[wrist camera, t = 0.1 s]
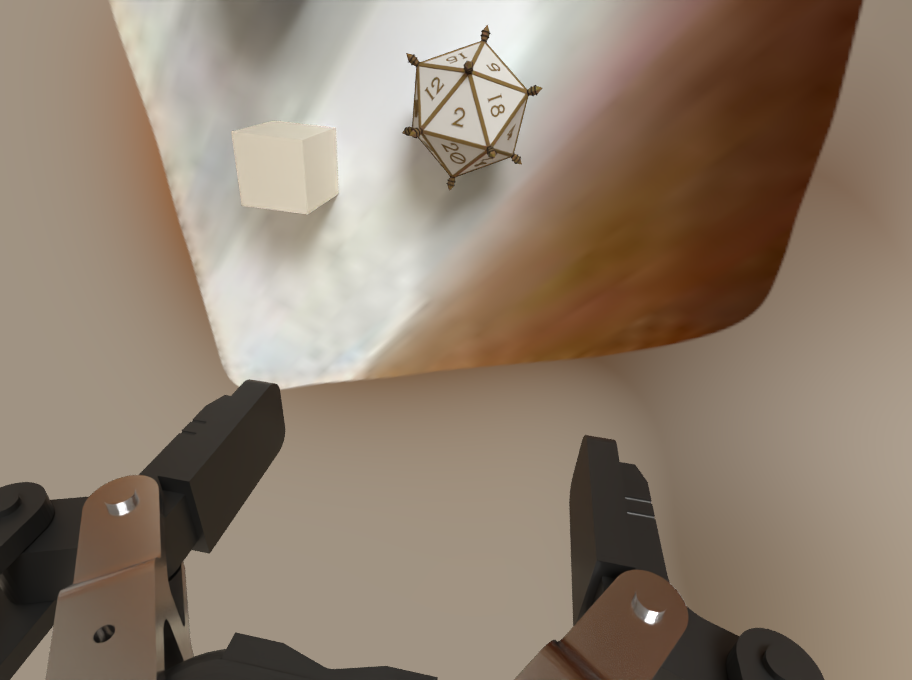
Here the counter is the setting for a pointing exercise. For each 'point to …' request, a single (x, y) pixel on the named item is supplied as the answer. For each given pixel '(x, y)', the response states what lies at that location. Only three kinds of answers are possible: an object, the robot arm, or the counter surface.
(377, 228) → the counter surface
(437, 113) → the game die
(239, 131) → the cream block
